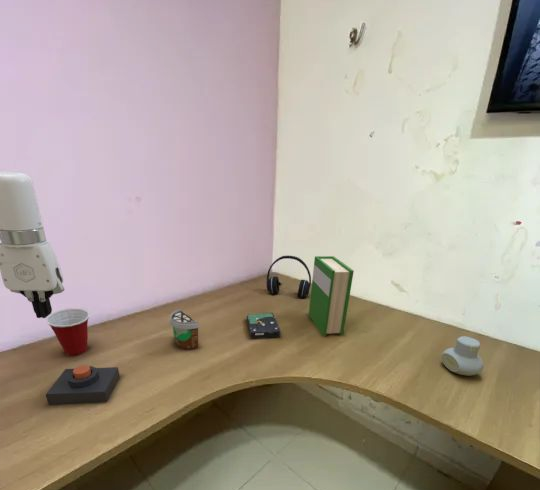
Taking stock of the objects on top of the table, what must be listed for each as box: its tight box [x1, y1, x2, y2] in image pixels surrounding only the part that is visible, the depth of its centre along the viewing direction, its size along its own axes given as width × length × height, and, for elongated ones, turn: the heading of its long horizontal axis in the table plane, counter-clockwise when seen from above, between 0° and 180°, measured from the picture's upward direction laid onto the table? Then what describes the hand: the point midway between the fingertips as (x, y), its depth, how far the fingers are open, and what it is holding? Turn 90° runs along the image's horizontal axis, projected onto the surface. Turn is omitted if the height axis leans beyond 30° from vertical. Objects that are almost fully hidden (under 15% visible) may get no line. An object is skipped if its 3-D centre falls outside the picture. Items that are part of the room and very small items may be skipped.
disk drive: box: [246, 312, 281, 339], centre depth 112 cm, size 10×3×15 cm
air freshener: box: [441, 335, 485, 377], centre depth 92 cm, size 11×8×10 cm
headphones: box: [266, 255, 312, 298], centre depth 139 cm, size 20×7×18 cm, turn 77°
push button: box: [73, 364, 91, 379], centre depth 76 cm, size 4×4×2 cm
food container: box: [169, 308, 200, 350], centre depth 98 cm, size 12×6×10 cm, turn 40°
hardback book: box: [308, 255, 355, 337], centre depth 112 cm, size 18×7×24 cm, turn 11°
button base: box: [45, 365, 121, 406], centre depth 77 cm, size 13×10×5 cm
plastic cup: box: [45, 307, 91, 356], centre depth 92 cm, size 11×11×12 cm
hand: (44, 315), depth 72 cm, fingers closed
